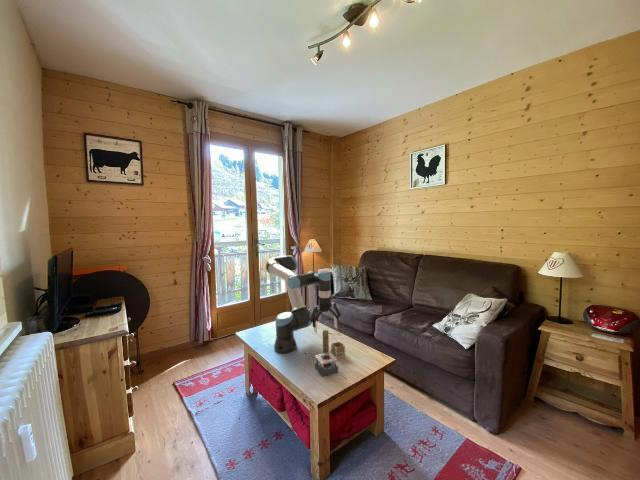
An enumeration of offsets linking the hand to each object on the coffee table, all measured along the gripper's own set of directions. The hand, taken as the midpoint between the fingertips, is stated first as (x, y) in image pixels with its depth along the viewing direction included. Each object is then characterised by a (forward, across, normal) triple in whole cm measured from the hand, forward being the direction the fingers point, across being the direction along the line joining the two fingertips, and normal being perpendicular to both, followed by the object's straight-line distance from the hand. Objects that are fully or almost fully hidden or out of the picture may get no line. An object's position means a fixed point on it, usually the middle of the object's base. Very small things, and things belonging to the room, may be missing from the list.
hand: (325, 329), depth 168 cm
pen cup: (+19, +9, +1) cm, 21 cm away
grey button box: (+19, -5, -11) cm, 22 cm away
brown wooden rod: (+19, 0, 0) cm, 19 cm away
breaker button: (+15, -5, -11) cm, 19 cm away
